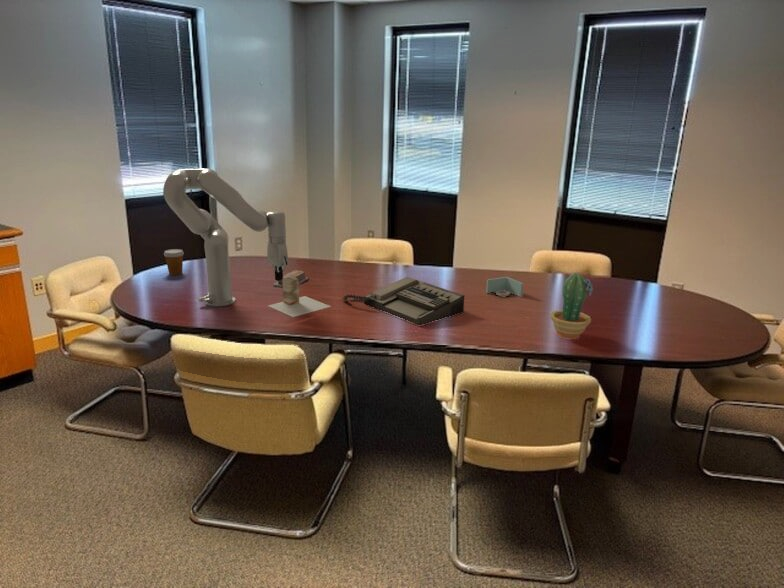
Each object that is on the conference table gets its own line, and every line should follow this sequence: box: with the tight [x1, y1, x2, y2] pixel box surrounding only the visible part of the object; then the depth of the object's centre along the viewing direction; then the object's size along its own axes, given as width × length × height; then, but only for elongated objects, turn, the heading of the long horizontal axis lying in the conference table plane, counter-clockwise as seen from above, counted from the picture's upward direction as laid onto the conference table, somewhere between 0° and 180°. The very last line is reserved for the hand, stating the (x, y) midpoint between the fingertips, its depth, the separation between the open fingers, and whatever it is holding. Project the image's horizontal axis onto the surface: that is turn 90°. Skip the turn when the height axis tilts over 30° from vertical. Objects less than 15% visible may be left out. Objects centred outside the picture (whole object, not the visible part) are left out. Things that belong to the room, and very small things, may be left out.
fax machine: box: [341, 276, 465, 325], centre depth 245 cm, size 45×34×10 cm
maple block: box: [282, 277, 300, 305], centre depth 246 cm, size 5×5×11 cm
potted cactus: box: [549, 272, 594, 339], centre depth 215 cm, size 15×15×25 cm
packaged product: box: [272, 269, 309, 288], centre depth 277 cm, size 18×5×10 cm
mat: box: [267, 295, 331, 318], centre depth 243 cm, size 20×19×1 cm
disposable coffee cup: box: [163, 248, 185, 276], centre depth 286 cm, size 10×10×12 cm
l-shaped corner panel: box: [485, 276, 524, 298], centre depth 265 cm, size 12×12×8 cm
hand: (279, 279), depth 251 cm, fingers closed
